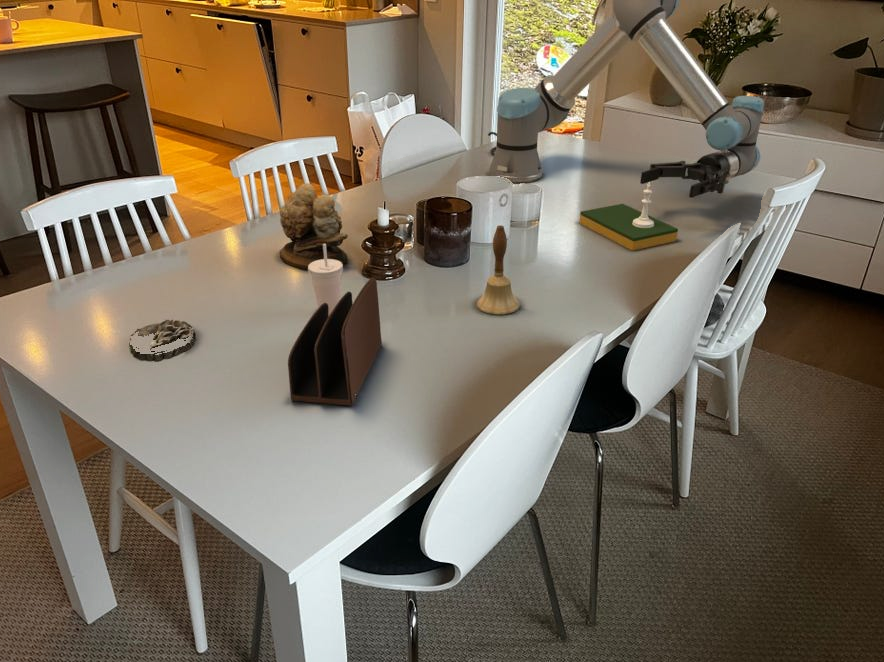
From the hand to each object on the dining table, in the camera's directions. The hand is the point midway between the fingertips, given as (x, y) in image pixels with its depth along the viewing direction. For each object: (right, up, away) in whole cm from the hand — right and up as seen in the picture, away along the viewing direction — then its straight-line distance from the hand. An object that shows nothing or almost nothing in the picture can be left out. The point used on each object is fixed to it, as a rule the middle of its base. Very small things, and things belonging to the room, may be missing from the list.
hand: (666, 184), depth 174 cm
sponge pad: (-8, -10, +4) cm, 14 cm away
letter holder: (-69, -43, -51) cm, 96 cm away
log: (-101, -38, -43) cm, 116 cm away
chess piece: (-5, -10, 0) cm, 11 cm away
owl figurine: (-80, -19, -11) cm, 83 cm away
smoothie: (-74, -32, -33) cm, 87 cm away
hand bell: (-41, -31, -30) cm, 59 cm away
